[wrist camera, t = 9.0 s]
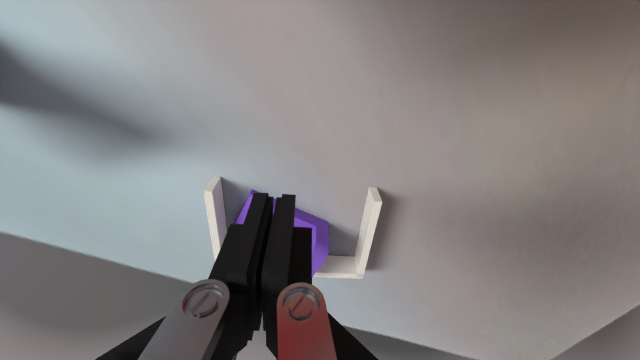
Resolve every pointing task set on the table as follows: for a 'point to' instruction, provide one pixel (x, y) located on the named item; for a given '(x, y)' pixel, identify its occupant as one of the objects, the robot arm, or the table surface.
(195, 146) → the table surface
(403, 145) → the table surface
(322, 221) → the bracket
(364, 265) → the white u-shaped fence
